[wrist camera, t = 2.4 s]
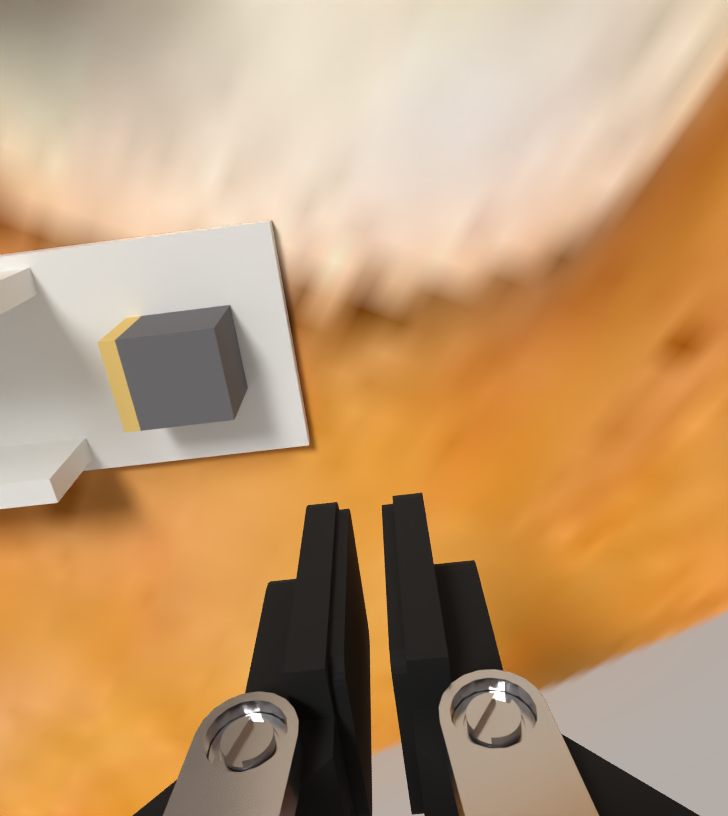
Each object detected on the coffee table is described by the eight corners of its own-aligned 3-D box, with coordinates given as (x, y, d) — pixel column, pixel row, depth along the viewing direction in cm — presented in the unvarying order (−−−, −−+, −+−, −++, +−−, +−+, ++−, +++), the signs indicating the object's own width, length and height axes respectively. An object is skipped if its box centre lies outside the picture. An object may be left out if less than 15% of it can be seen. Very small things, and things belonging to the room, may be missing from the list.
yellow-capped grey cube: (230, 304, 25) (214, 327, 22) (247, 388, 26) (234, 419, 24) (126, 317, 25) (97, 342, 22) (149, 399, 26) (124, 432, 24)
